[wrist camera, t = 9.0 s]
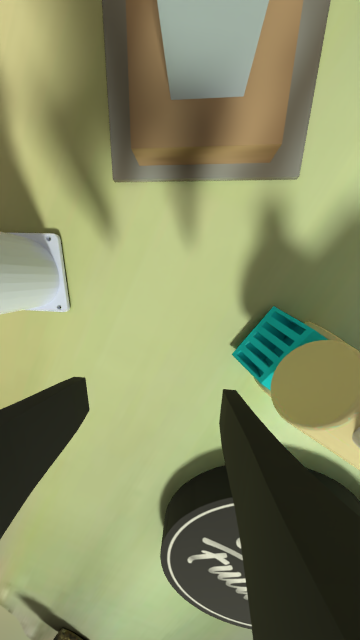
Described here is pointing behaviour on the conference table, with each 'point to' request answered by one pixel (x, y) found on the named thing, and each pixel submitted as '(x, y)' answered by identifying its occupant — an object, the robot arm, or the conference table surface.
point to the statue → (66, 635)
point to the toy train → (308, 379)
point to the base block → (211, 100)
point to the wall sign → (214, 545)
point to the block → (210, 45)
